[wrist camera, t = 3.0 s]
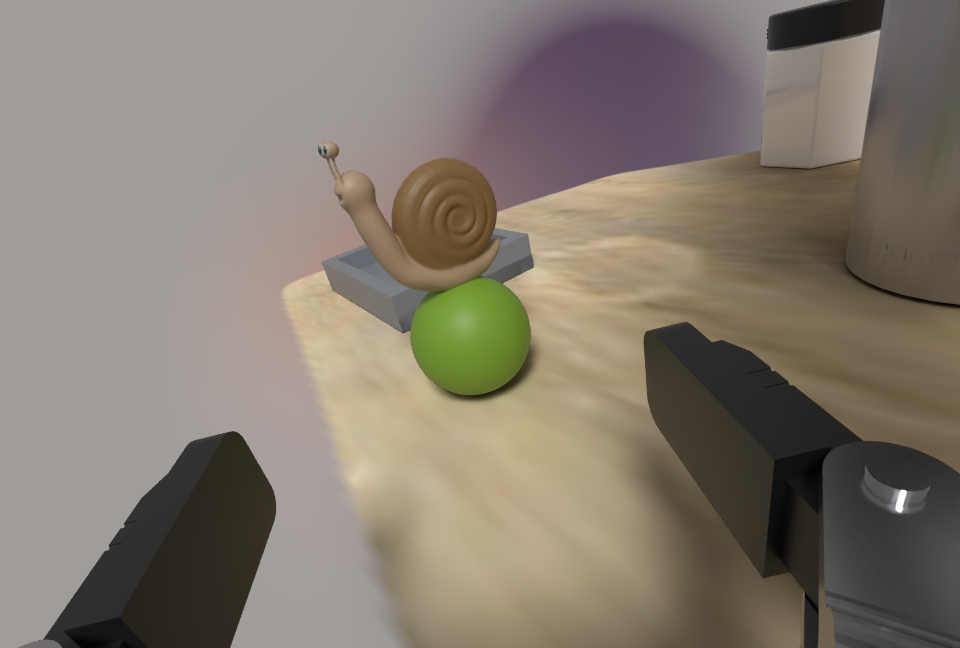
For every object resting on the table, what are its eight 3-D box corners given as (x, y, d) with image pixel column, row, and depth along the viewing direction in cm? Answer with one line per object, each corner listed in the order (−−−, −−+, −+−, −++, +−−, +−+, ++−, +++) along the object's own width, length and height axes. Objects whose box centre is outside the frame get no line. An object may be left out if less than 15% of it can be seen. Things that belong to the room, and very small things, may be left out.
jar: (837, 139, 46) (855, -6, 41) (898, 152, 39) (930, -22, 33) (740, 159, 47) (745, 21, 42) (783, 175, 40) (795, 10, 35)
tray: (441, 243, 44) (434, 217, 43) (533, 266, 34) (527, 234, 33) (332, 289, 39) (321, 262, 38) (403, 333, 29) (391, 297, 28)
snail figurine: (392, 395, 23) (299, 144, 18) (497, 340, 26) (443, 106, 20) (443, 451, 19) (340, 142, 14) (563, 379, 22) (516, 94, 16)
